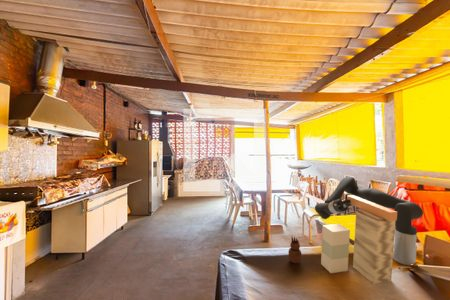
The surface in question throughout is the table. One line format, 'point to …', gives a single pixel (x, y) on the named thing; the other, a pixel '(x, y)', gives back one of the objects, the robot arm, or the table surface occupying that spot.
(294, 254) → the wooden figurine
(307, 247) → the table surface
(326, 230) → the tower
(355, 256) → the stand
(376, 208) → the beam
